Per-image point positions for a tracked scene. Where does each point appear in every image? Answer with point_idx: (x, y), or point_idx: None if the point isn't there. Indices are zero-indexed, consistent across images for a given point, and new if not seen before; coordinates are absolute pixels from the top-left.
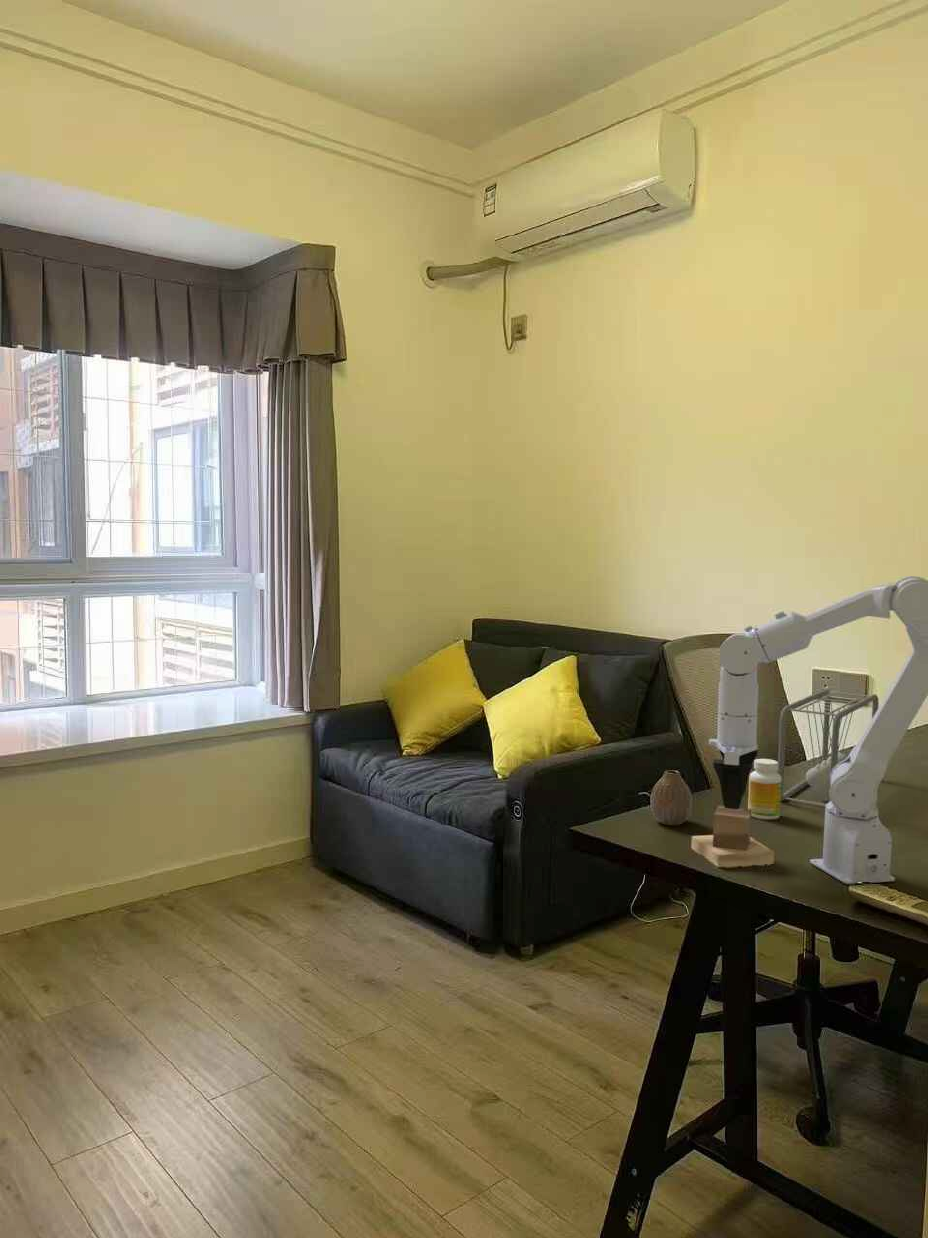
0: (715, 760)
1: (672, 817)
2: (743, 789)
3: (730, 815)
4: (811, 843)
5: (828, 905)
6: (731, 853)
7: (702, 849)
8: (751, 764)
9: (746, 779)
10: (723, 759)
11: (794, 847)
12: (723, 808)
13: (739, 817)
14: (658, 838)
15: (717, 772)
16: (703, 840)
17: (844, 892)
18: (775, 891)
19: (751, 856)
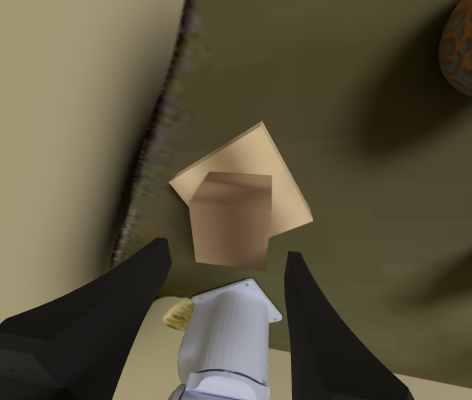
0: (10, 357)
1: (441, 45)
2: (144, 312)
3: (196, 233)
4: (345, 287)
5: None
6: (187, 201)
7: (219, 149)
8: (292, 394)
9: (289, 326)
10: (311, 350)
11: (319, 268)
12: (248, 221)
13: (194, 247)
14: (314, 29)
15: (37, 310)
16: (239, 152)
17: (172, 291)
18: (133, 237)
19: None
